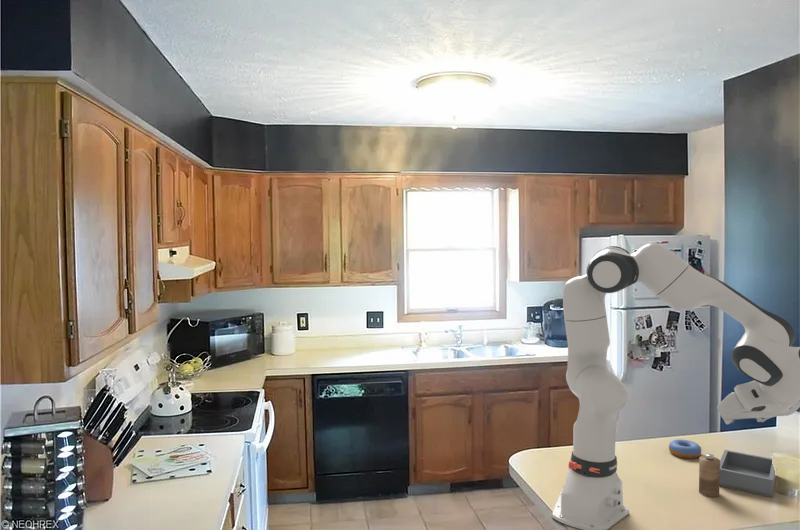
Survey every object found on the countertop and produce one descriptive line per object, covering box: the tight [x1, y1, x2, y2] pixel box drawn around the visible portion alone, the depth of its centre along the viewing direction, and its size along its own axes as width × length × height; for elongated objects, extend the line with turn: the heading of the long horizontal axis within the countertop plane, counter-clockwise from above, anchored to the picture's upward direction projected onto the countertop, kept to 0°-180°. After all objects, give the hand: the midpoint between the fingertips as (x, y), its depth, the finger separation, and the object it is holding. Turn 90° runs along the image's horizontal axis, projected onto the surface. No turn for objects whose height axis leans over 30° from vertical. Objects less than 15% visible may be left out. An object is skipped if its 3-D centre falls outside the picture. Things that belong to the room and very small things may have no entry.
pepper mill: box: [698, 453, 721, 498], centre depth 166 cm, size 5×5×11 cm
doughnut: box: [668, 439, 702, 460], centre depth 196 cm, size 10×10×5 cm
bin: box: [719, 449, 776, 498], centre depth 175 cm, size 18×14×5 cm
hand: (743, 420), depth 153 cm, fingers open, 8 cm apart
